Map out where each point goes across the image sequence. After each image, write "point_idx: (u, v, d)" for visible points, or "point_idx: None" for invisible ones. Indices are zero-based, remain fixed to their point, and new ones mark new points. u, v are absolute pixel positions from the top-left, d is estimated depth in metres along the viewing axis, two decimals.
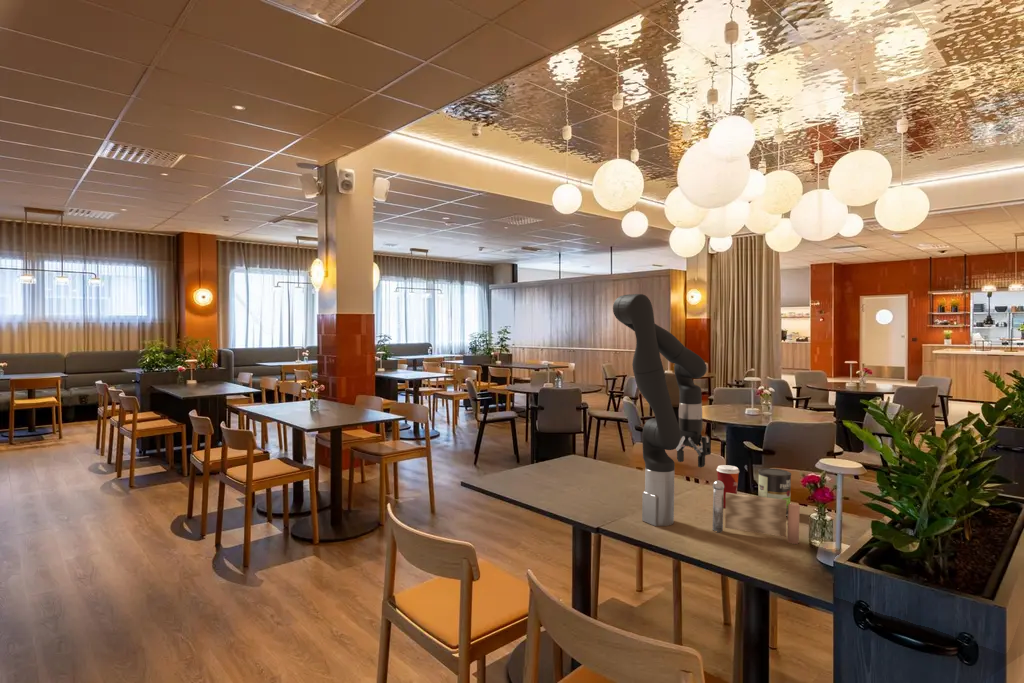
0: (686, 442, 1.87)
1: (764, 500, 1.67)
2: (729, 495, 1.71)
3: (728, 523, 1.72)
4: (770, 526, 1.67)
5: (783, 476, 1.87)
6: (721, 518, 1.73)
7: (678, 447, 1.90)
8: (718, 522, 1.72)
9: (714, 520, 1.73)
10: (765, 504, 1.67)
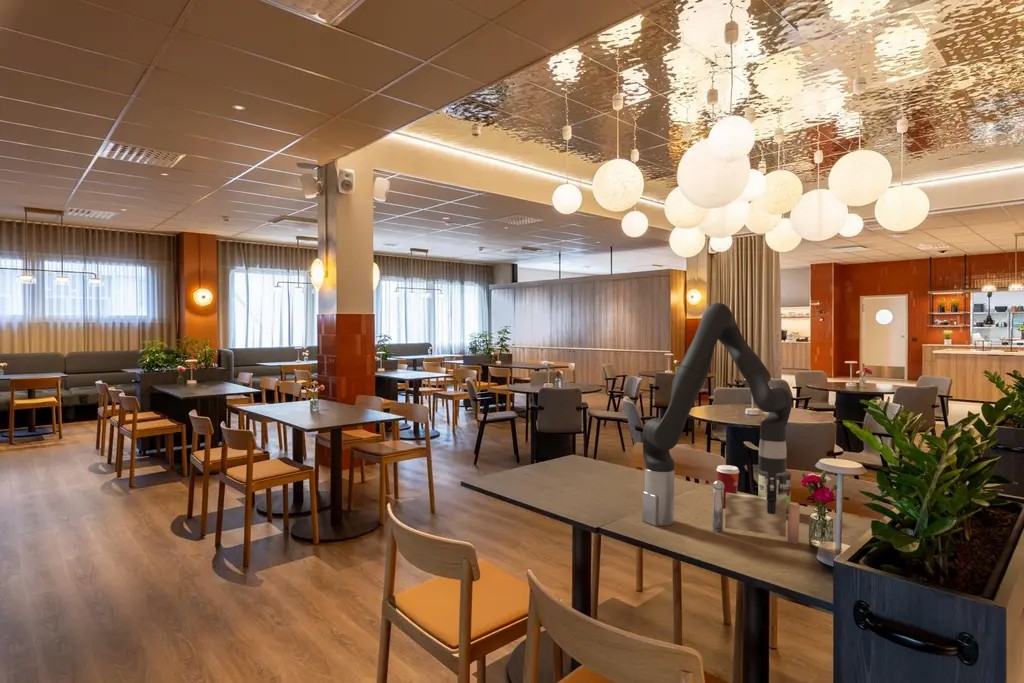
0: None
1: (764, 500, 1.67)
2: (729, 495, 1.71)
3: (728, 523, 1.72)
4: (770, 526, 1.67)
5: (783, 476, 1.87)
6: (721, 518, 1.73)
7: None
8: (718, 522, 1.72)
9: (714, 520, 1.73)
10: (765, 504, 1.67)
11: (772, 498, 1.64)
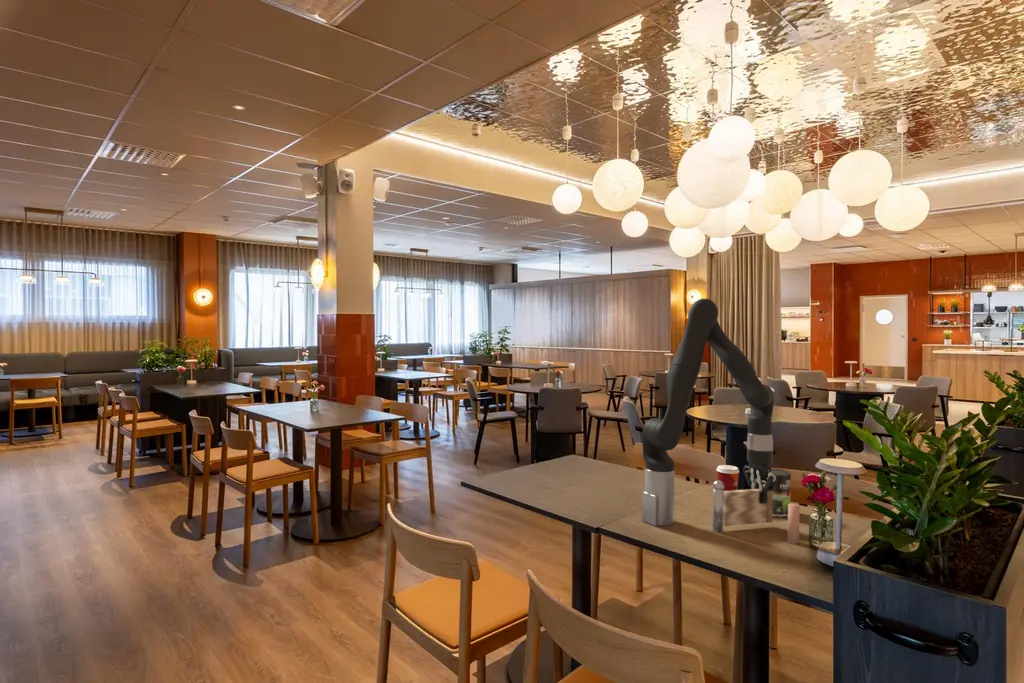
0: None
1: (756, 492, 1.76)
2: (729, 493, 1.74)
3: (727, 521, 1.74)
4: (760, 515, 1.77)
5: (783, 476, 1.87)
6: (721, 518, 1.73)
7: None
8: (718, 522, 1.72)
9: (714, 520, 1.73)
10: (757, 495, 1.76)
11: (769, 488, 1.74)
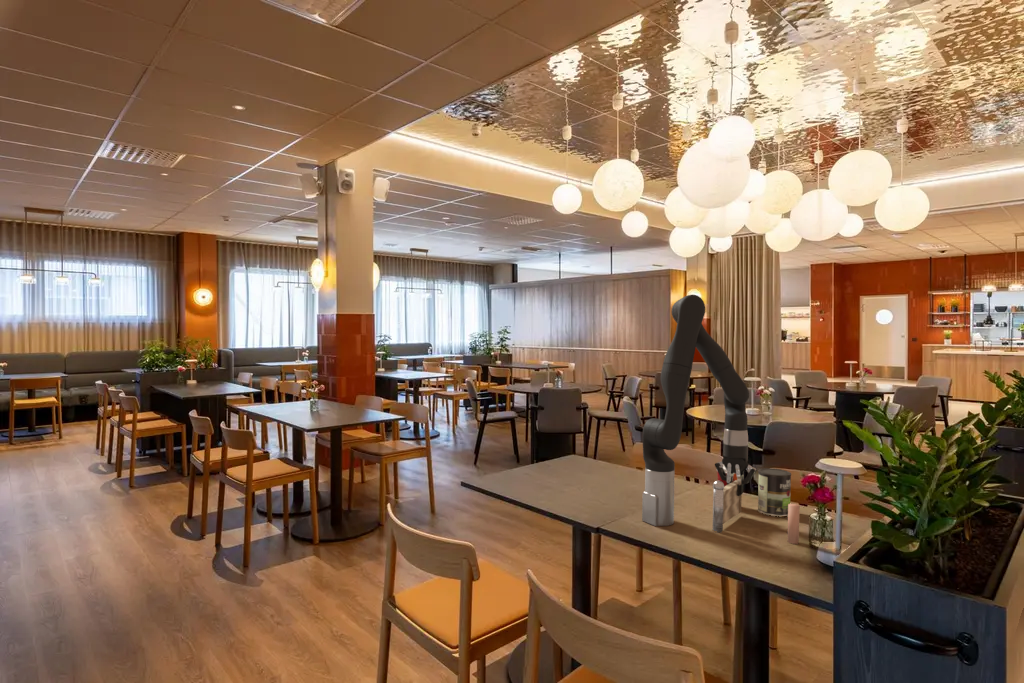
0: None
1: (736, 485, 1.83)
2: (725, 491, 1.76)
3: (723, 519, 1.76)
4: (736, 507, 1.85)
5: (783, 476, 1.87)
6: (721, 518, 1.73)
7: None
8: (718, 522, 1.72)
9: (714, 520, 1.73)
10: (736, 489, 1.83)
11: None
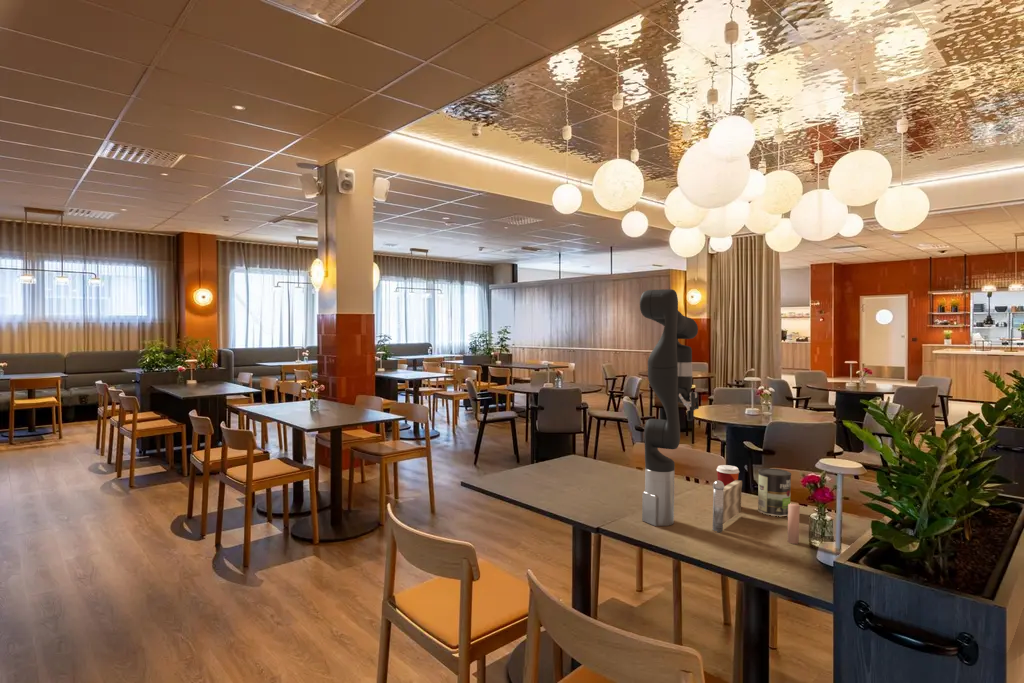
0: None
1: (736, 485, 1.83)
2: (725, 491, 1.76)
3: (723, 519, 1.76)
4: (736, 507, 1.85)
5: (783, 476, 1.87)
6: (721, 518, 1.73)
7: None
8: (718, 522, 1.72)
9: (714, 520, 1.73)
10: (736, 489, 1.83)
11: (696, 406, 1.97)
